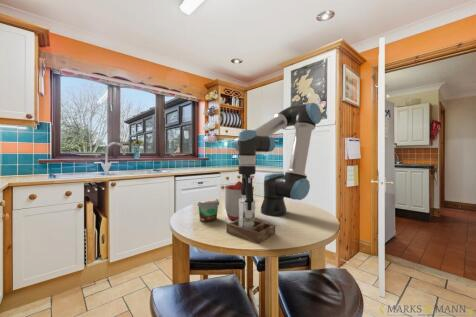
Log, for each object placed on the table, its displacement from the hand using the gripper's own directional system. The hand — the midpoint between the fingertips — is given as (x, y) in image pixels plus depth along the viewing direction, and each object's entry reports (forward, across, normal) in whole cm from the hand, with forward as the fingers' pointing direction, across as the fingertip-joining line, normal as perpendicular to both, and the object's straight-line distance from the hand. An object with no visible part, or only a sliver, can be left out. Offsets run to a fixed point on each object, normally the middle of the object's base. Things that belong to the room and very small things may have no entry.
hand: (246, 212), depth 98 cm
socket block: (+9, +2, +2) cm, 9 cm away
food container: (+9, -17, -16) cm, 25 cm away
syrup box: (+8, 0, 0) cm, 9 cm away
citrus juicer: (+9, -22, 0) cm, 23 cm away
